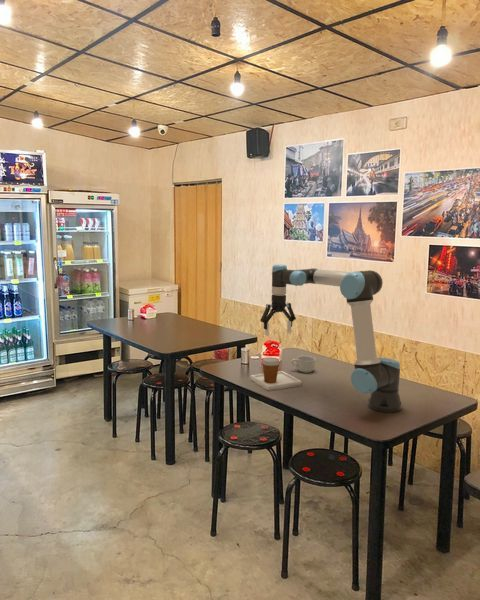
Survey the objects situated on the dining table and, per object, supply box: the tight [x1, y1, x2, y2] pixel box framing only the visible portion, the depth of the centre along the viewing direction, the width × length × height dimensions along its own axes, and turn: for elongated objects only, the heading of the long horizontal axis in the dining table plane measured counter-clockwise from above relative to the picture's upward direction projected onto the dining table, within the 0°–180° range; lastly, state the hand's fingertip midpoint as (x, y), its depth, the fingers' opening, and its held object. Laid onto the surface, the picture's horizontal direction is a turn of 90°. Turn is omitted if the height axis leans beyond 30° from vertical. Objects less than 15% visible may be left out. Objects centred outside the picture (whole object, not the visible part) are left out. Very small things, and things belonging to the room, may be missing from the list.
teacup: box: [290, 355, 317, 374], centre depth 292 cm, size 14×11×8 cm
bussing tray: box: [250, 370, 303, 392], centre depth 271 cm, size 20×20×2 cm
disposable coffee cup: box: [261, 357, 281, 383], centre depth 269 cm, size 10×10×12 cm
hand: (278, 334), depth 267 cm, fingers open, 13 cm apart
